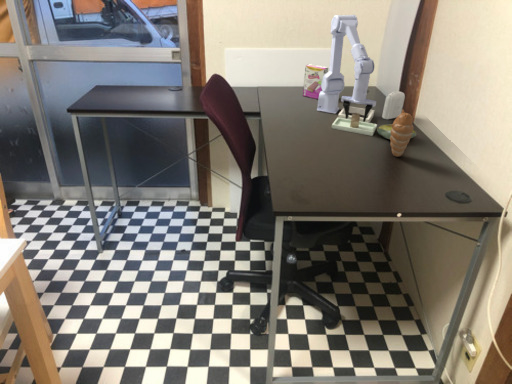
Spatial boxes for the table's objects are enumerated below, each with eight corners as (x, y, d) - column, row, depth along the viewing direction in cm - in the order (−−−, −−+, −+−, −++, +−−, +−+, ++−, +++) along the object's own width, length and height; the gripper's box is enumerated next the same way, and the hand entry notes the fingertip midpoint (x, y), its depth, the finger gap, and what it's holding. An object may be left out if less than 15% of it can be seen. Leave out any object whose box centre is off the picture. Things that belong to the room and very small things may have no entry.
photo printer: (394, 114, 200) (400, 89, 194) (401, 116, 197) (407, 91, 191) (380, 117, 195) (385, 92, 189) (387, 120, 192) (392, 94, 186)
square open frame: (337, 120, 190) (338, 114, 188) (344, 111, 201) (345, 105, 199) (367, 125, 185) (368, 119, 183) (373, 116, 196) (374, 110, 195)
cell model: (376, 125, 180) (412, 117, 174) (380, 142, 181) (416, 134, 176) (376, 129, 170) (414, 120, 164) (380, 147, 171) (417, 139, 166)
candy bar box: (302, 96, 219) (305, 65, 211) (306, 94, 223) (309, 63, 214) (321, 100, 214) (324, 68, 206) (325, 98, 218) (329, 66, 209)
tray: (331, 128, 181) (331, 124, 180) (336, 121, 189) (337, 117, 188) (372, 135, 175) (373, 132, 174) (376, 128, 183) (377, 124, 182)
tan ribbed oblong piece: (382, 151, 162) (391, 107, 153) (401, 151, 162) (412, 107, 153) (390, 161, 154) (400, 115, 145) (410, 161, 155) (421, 116, 146)
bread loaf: (349, 127, 181) (351, 114, 178) (351, 124, 184) (353, 112, 181) (357, 129, 180) (359, 116, 177) (359, 126, 182) (361, 113, 179)
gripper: (341, 88, 172) (337, 119, 179) (376, 94, 167) (370, 125, 174) (345, 84, 178) (340, 114, 185) (379, 89, 173) (373, 120, 180)
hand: (355, 119), depth 180 cm, fingers open, 7 cm apart
